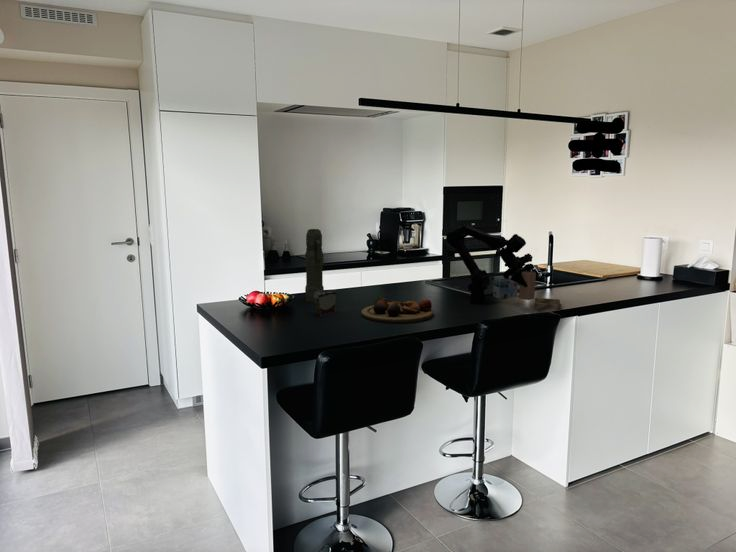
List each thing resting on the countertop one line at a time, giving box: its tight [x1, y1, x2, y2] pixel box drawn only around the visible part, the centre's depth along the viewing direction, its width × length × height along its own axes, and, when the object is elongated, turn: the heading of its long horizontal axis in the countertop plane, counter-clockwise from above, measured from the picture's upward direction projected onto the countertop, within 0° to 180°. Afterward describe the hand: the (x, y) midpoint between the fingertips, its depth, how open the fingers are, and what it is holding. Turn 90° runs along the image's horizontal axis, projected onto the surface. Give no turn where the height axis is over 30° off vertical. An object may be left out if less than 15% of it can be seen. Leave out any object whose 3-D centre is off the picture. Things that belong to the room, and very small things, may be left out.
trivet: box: [513, 307, 539, 314], centre depth 256 cm, size 11×11×1 cm
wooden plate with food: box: [360, 296, 435, 324], centre depth 248 cm, size 32×32×8 cm
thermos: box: [304, 228, 325, 304], centre depth 272 cm, size 9×12×35 cm
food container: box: [314, 289, 338, 317], centre depth 249 cm, size 12×6×10 cm, turn 141°
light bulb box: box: [492, 275, 519, 300], centre depth 286 cm, size 11×7×11 cm, turn 105°
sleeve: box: [534, 297, 561, 311], centre depth 265 cm, size 11×14×3 cm
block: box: [518, 271, 537, 301], centre depth 254 cm, size 5×5×12 cm
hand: (529, 286), depth 253 cm, fingers closed on block, 5 cm apart
